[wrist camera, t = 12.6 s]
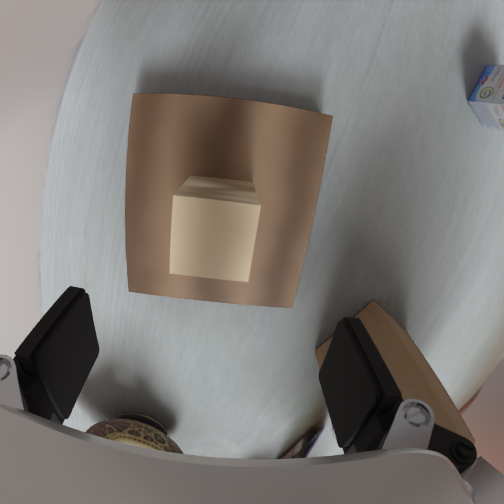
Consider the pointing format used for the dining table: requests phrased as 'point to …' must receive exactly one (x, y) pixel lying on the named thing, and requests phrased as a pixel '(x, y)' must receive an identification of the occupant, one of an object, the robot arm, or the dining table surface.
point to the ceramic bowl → (135, 432)
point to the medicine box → (490, 98)
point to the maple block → (214, 228)
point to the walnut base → (225, 167)
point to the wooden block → (407, 367)
